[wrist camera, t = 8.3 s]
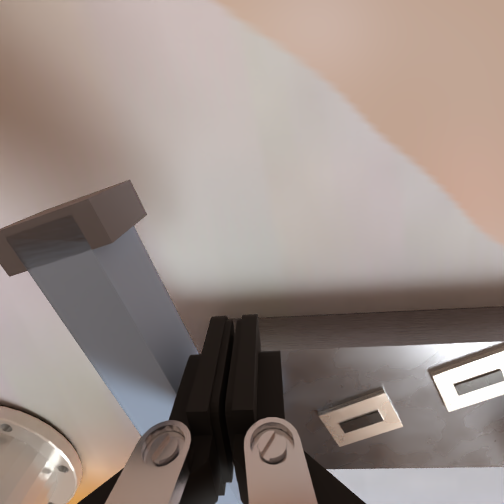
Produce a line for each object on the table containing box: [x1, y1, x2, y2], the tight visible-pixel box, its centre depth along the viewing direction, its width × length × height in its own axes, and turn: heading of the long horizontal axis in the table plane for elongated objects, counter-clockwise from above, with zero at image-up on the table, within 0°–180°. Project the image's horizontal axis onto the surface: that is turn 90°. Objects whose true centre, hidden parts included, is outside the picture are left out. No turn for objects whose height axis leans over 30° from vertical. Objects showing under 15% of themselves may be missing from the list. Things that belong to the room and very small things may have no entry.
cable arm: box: [0, 180, 243, 504], centre depth 12 cm, size 20×4×2 cm, turn 19°
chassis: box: [230, 307, 504, 469], centre depth 18 cm, size 20×10×6 cm, turn 95°
